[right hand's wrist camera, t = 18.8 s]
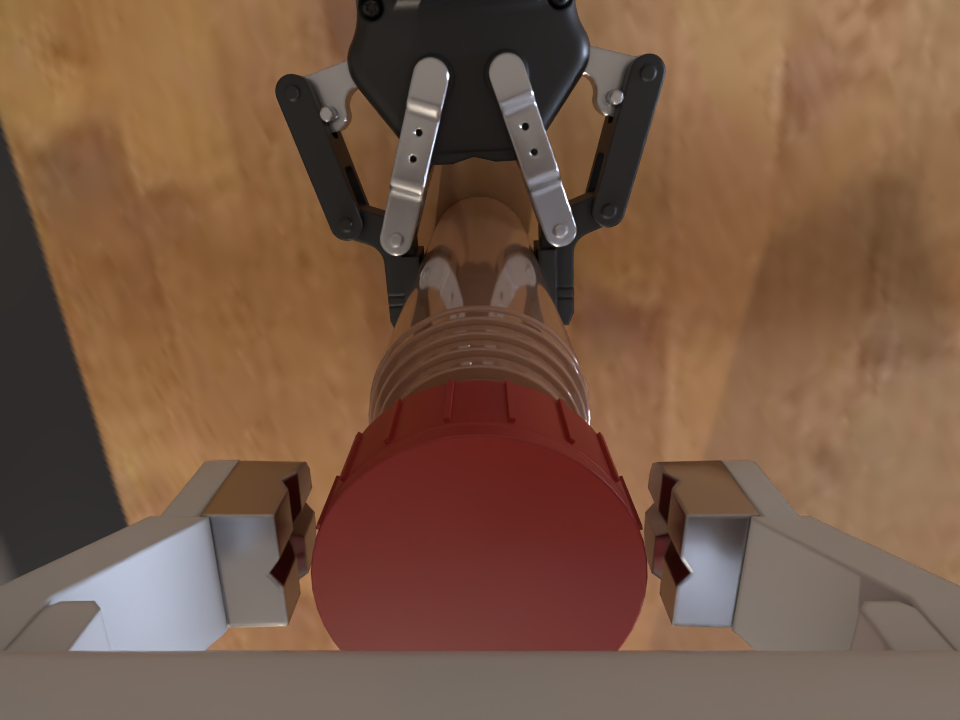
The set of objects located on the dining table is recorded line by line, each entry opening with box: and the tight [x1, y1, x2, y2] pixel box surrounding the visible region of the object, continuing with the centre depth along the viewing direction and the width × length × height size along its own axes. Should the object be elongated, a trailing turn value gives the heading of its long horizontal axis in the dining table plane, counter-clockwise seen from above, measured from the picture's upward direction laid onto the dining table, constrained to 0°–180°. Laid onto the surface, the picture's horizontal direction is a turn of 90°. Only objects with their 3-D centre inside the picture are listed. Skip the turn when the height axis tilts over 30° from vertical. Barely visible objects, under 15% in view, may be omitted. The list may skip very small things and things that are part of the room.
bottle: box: [369, 197, 590, 426], centre depth 20 cm, size 4×4×24 cm
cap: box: [311, 380, 647, 651], centre depth 9 cm, size 4×4×2 cm
